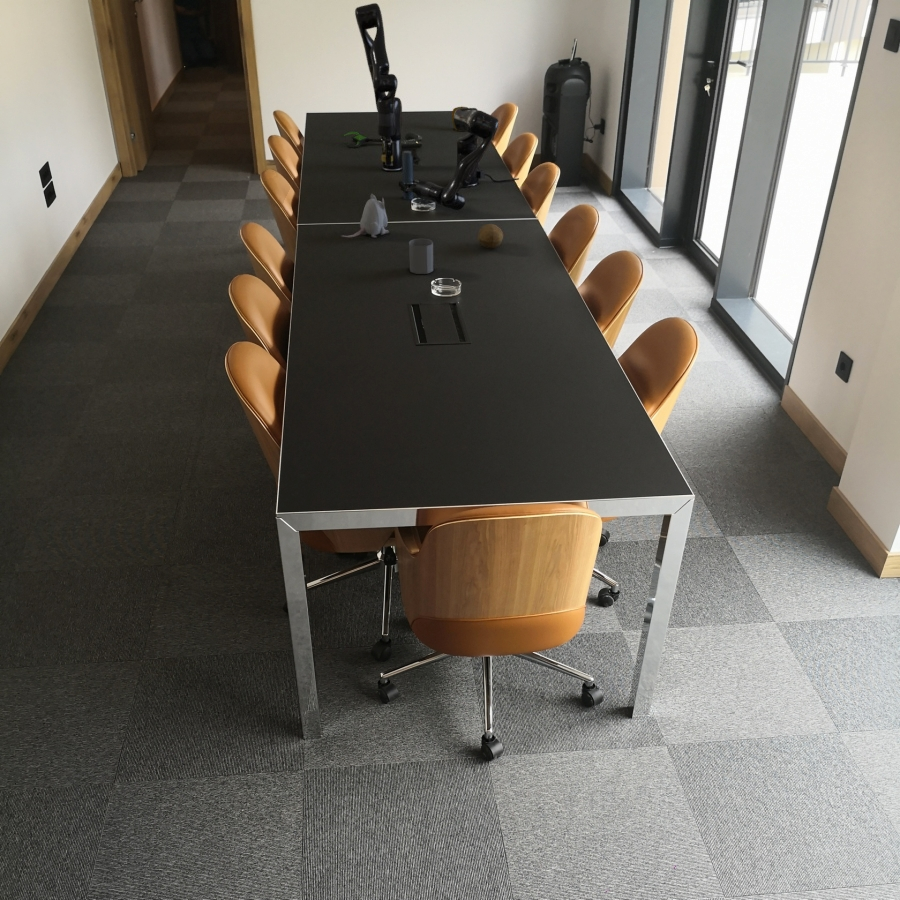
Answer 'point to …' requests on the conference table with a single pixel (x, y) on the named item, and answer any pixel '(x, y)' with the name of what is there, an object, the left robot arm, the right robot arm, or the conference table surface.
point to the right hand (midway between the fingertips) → (404, 182)
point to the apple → (453, 116)
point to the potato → (490, 236)
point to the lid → (385, 158)
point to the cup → (421, 256)
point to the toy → (373, 218)
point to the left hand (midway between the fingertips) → (387, 163)
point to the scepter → (360, 139)
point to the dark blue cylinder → (407, 172)
